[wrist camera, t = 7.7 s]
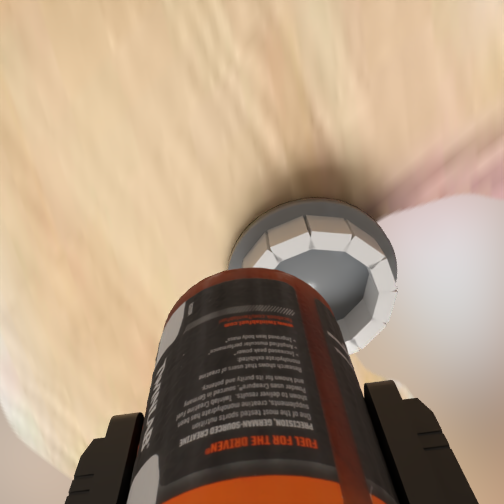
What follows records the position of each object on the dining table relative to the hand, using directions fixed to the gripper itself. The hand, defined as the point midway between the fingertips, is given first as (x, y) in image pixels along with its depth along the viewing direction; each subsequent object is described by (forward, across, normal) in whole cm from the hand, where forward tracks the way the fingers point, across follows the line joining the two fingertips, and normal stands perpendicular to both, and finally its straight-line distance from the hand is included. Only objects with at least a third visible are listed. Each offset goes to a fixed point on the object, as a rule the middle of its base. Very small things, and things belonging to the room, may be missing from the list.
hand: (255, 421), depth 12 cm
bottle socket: (+20, -4, +8) cm, 21 cm away
